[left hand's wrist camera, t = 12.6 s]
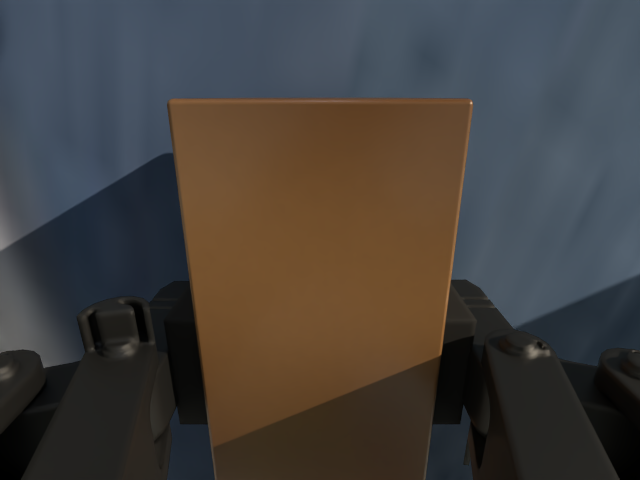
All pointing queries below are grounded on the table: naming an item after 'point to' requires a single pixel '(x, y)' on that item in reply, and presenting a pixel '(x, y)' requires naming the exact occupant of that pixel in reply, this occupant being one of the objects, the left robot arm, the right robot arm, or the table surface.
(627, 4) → the table surface
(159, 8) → the table surface
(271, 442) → the beam
